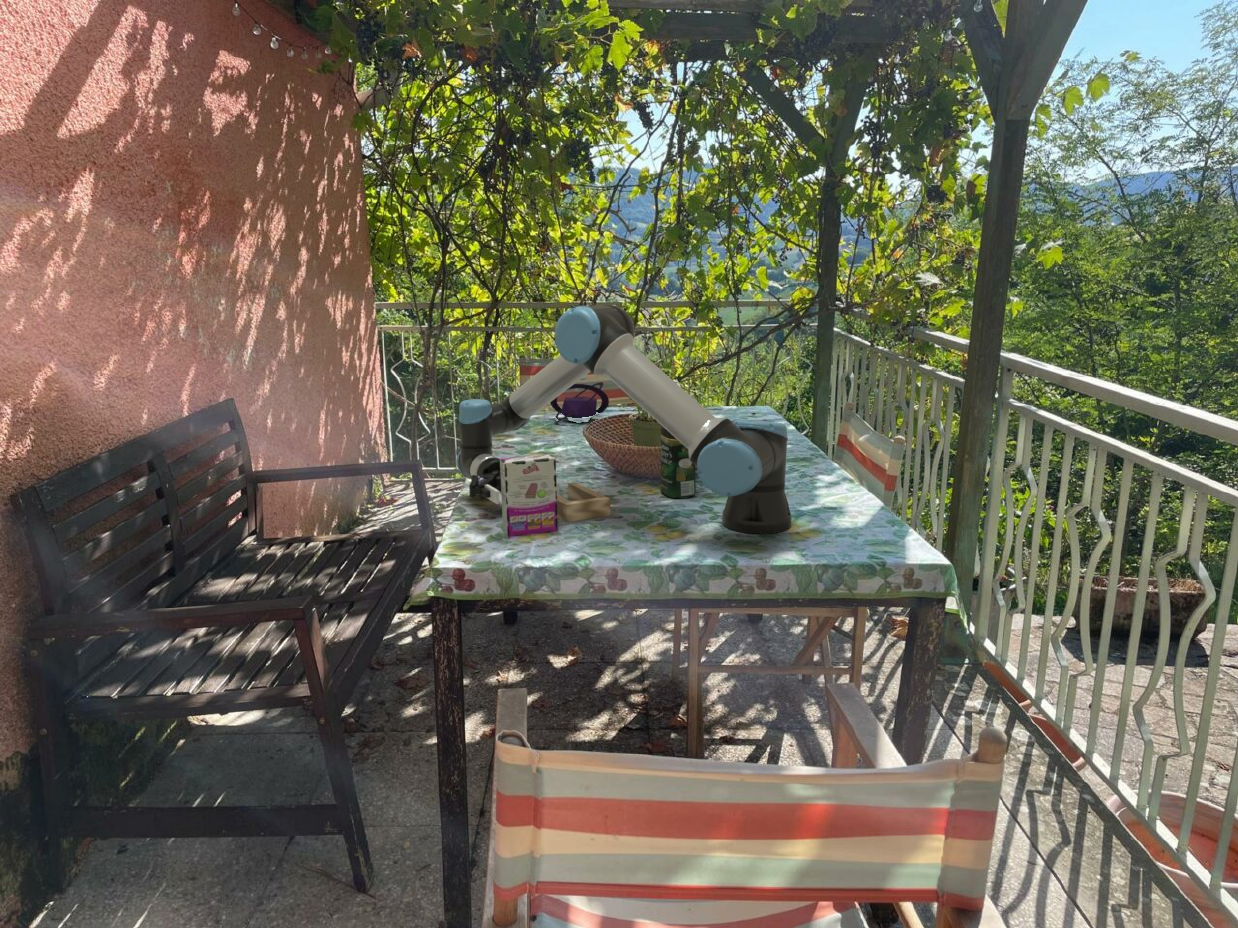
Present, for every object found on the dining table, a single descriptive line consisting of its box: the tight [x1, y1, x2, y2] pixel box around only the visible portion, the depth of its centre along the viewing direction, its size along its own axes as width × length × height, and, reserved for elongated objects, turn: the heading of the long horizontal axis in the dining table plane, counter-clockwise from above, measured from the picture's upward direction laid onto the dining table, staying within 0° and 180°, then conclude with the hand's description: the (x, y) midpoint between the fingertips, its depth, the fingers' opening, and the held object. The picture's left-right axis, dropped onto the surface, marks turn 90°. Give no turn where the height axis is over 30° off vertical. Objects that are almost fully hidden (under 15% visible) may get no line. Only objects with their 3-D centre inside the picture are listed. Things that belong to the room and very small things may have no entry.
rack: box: [557, 481, 611, 522], centre depth 196 cm, size 11×18×4 cm, turn 30°
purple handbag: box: [549, 375, 610, 422], centre depth 310 cm, size 22×21×25 cm
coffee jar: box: [659, 425, 697, 499], centre depth 209 cm, size 10×8×19 cm
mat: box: [557, 497, 624, 527], centre depth 196 cm, size 16×20×1 cm
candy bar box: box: [499, 453, 559, 539], centre depth 179 cm, size 11×5×16 cm, turn 112°
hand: (528, 493), depth 178 cm, fingers open, 13 cm apart
